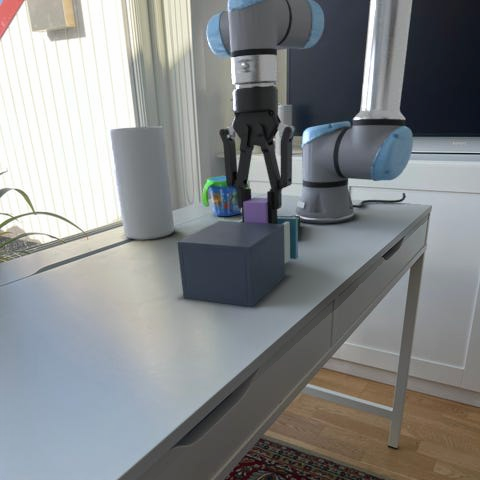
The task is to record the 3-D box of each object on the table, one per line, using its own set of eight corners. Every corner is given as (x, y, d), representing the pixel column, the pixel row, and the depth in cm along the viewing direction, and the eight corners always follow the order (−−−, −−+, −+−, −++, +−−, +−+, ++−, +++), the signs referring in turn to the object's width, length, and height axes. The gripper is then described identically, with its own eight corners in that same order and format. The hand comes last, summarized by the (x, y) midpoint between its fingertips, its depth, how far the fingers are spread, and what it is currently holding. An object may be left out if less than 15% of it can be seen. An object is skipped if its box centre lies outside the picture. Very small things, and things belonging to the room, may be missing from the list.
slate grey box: (223, 270, 91) (219, 220, 87) (285, 276, 86) (284, 224, 82) (183, 298, 79) (176, 241, 75) (252, 307, 74) (249, 247, 70)
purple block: (254, 224, 92) (252, 197, 90) (275, 225, 90) (274, 198, 88) (244, 229, 88) (243, 202, 86) (266, 230, 86) (265, 202, 84)
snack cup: (240, 207, 146) (238, 173, 141) (260, 212, 138) (259, 176, 133) (195, 216, 138) (191, 179, 134) (213, 221, 130) (210, 183, 126)
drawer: (255, 246, 102) (253, 209, 99) (306, 250, 98) (306, 211, 94) (214, 274, 87) (210, 231, 84) (272, 280, 82) (271, 235, 79)
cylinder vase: (161, 225, 129) (149, 126, 119) (183, 233, 119) (171, 126, 109) (117, 234, 123) (100, 130, 113) (136, 243, 113) (119, 130, 103)
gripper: (198, 89, 80) (209, 228, 89) (297, 82, 73) (298, 233, 82) (218, 89, 86) (227, 219, 95) (312, 83, 79) (311, 223, 88)
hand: (260, 225), depth 89 cm, fingers closed on purple block, 4 cm apart
